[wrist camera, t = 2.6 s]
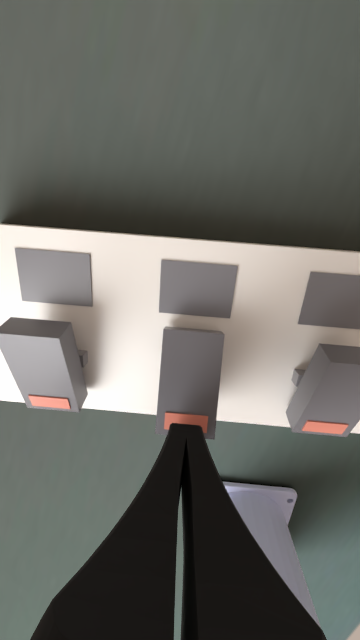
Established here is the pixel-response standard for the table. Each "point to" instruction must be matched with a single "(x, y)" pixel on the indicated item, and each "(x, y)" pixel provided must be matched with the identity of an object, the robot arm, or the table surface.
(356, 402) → the rocker
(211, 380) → the block
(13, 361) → the block
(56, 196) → the table surface
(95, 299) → the power strip
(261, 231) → the table surface
